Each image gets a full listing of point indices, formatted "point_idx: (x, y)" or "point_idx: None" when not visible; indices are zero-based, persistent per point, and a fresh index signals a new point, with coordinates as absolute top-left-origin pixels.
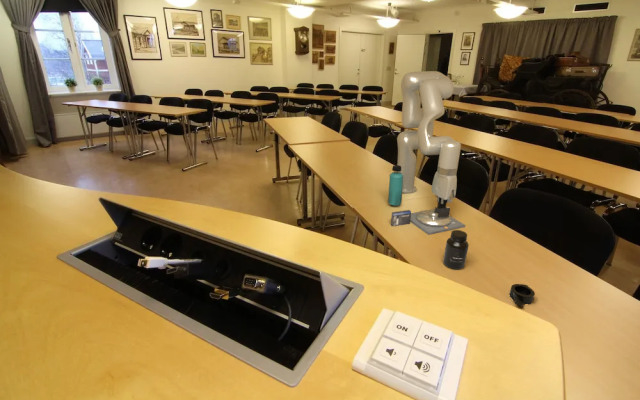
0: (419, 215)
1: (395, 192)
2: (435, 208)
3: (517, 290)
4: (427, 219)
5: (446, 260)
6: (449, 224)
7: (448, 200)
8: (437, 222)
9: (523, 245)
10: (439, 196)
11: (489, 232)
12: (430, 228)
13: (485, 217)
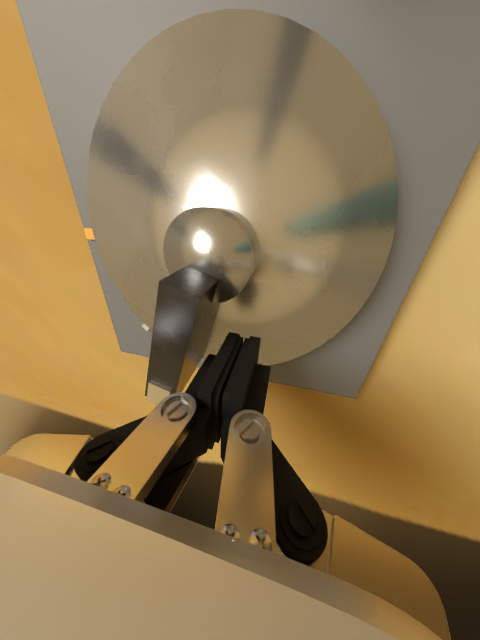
0: (317, 110)
1: None
2: (186, 288)
3: None
4: (190, 139)
5: None
6: None
7: (41, 465)
8: (117, 197)
9: (7, 377)
10: (72, 518)
11: (80, 375)
12: (92, 83)
13: None
